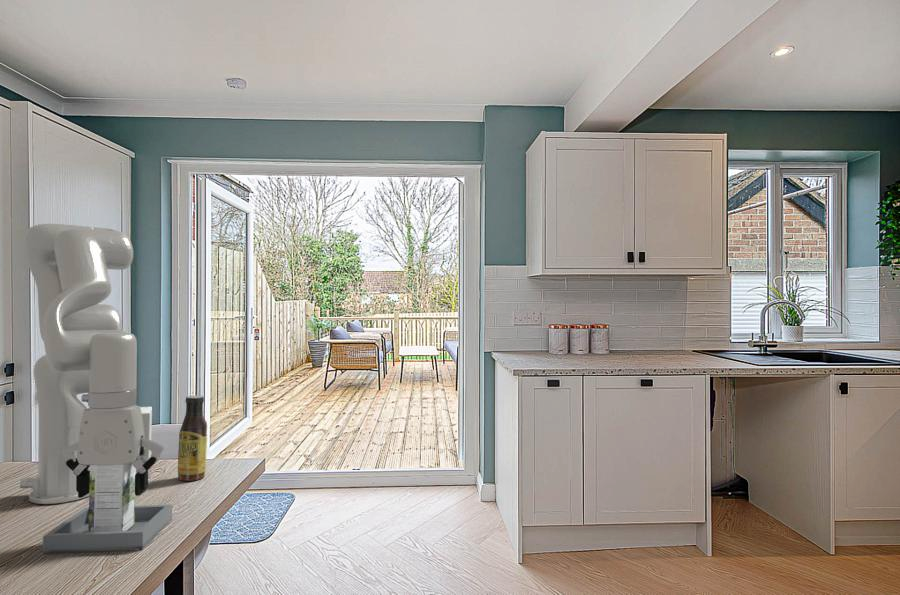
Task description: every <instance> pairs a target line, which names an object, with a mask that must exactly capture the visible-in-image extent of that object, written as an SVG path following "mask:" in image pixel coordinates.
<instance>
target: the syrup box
mask: <svg viewBox="0 0 900 595" xmlns="http://www.w3.org/2000/svg"><path fill="white" fill-rule="evenodd" d="M135 474H136V469H135V467H134V466H133V465H132V464H128V465H90V487H89V496H88V499H89V500H88V507H89V526H88V532H106V531H128V530H129V529H130V528H131V527H133V526H134V524H135V506H136V495H135Z"/></svg>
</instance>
